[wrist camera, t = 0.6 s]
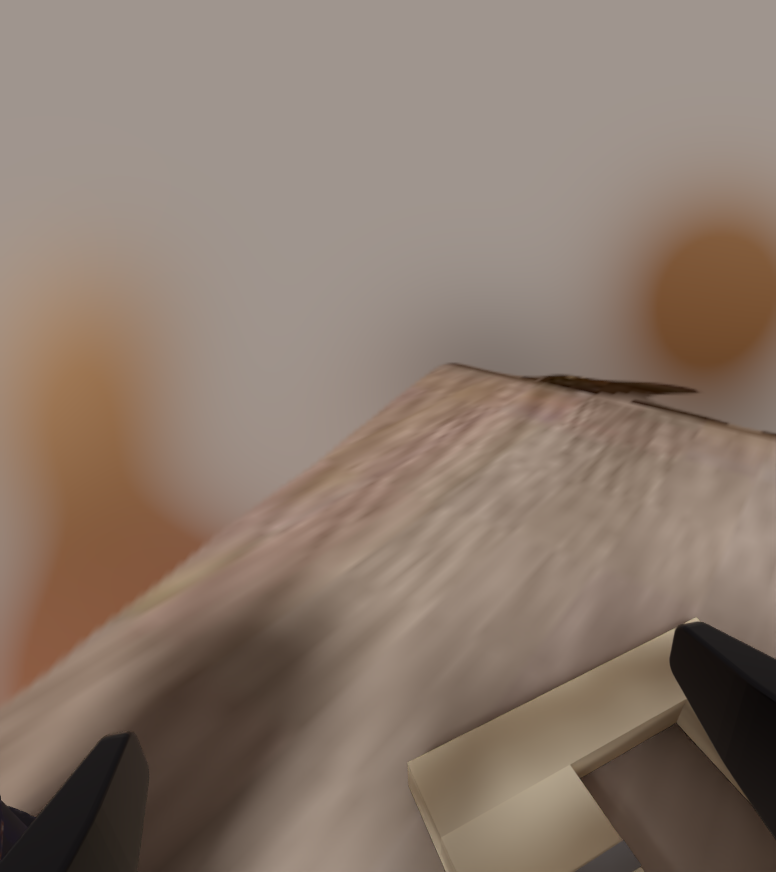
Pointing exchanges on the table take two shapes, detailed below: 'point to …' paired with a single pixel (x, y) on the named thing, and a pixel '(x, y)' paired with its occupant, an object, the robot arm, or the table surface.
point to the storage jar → (11, 826)
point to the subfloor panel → (550, 770)
